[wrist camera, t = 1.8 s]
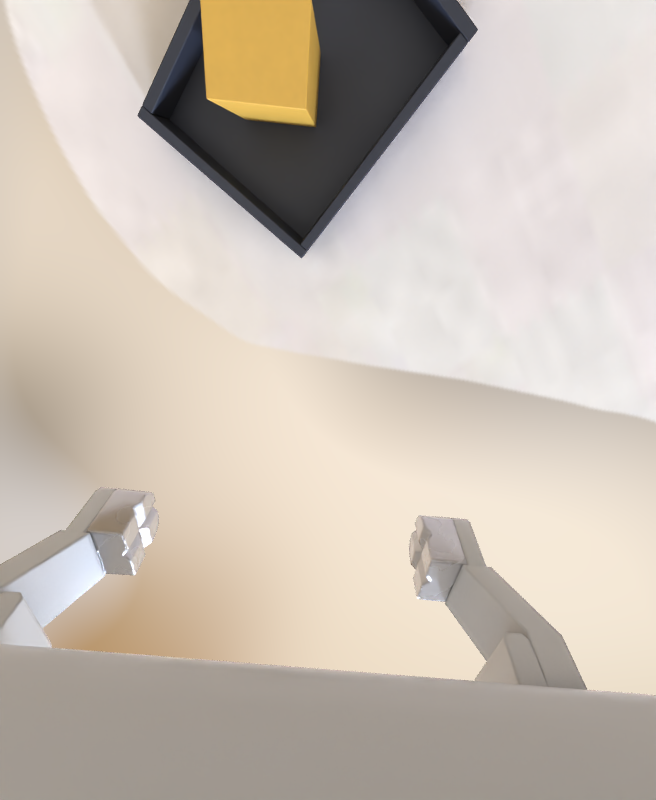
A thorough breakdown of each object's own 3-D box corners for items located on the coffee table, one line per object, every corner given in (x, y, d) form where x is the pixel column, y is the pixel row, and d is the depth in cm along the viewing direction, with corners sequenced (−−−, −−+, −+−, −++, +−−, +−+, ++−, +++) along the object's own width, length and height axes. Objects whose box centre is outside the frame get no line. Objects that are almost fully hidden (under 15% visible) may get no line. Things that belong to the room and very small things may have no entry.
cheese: (320, 51, 24) (311, -3, 17) (316, 127, 26) (306, 110, 19) (243, 42, 24) (198, -16, 17) (245, 119, 26) (206, 99, 19)
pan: (299, -169, 20) (292, -228, 17) (461, 46, 24) (478, 29, 21) (159, 121, 27) (136, 115, 24) (305, 250, 31) (301, 258, 28)
